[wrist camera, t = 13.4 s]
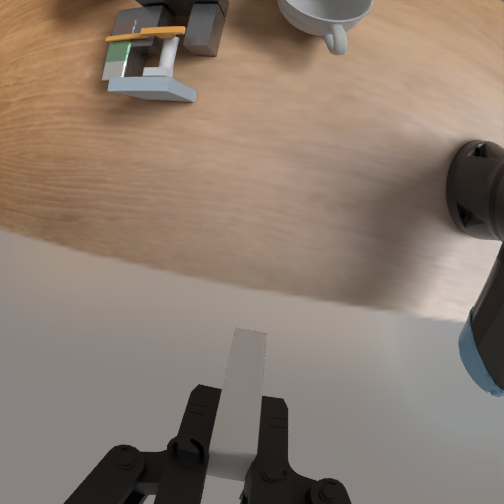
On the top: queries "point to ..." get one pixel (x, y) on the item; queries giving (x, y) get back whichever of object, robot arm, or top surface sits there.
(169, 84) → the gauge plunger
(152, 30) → the orange bar
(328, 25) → the teacup
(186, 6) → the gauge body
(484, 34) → the top surface
